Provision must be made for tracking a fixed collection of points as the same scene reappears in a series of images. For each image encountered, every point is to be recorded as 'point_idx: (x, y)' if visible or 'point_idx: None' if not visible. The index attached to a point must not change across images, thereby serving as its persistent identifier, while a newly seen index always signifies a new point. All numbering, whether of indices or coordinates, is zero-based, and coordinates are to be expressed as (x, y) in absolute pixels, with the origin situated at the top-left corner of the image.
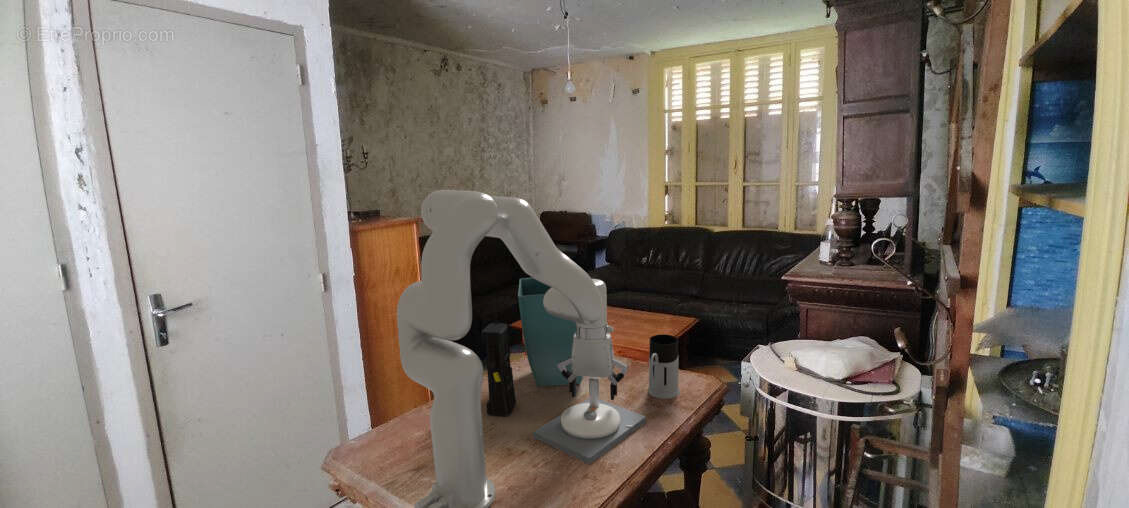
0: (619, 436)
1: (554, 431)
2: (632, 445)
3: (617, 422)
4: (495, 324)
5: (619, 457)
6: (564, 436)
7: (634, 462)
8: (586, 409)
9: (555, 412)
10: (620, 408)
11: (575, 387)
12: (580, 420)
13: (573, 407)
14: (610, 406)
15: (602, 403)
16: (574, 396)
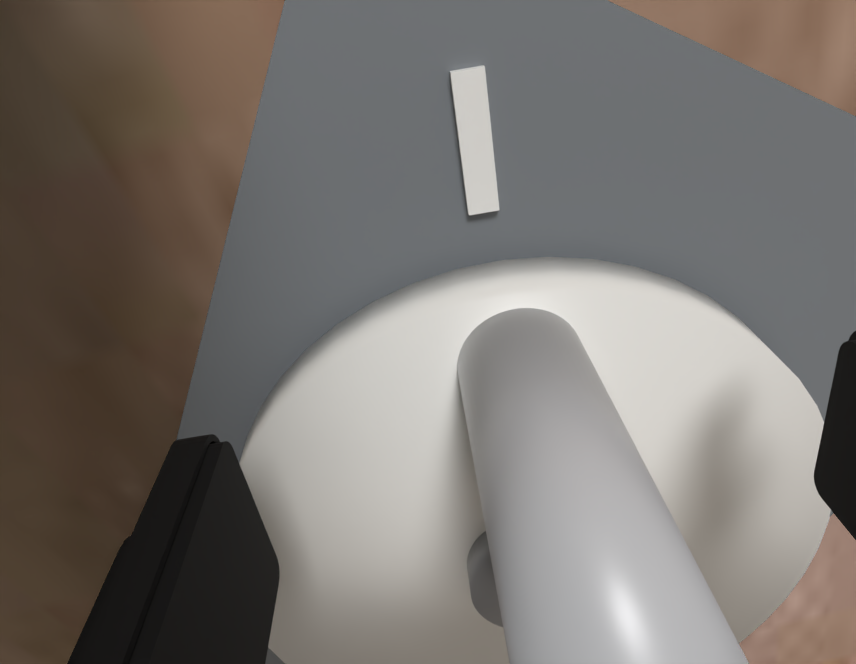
0: None
1: (268, 652)
2: (843, 536)
3: (803, 562)
4: None
5: (750, 643)
6: None
7: (837, 652)
8: (447, 457)
9: (38, 303)
10: (811, 140)
11: (227, 607)
12: (453, 621)
13: (282, 462)
14: (676, 125)
15: (554, 71)
16: (278, 583)
